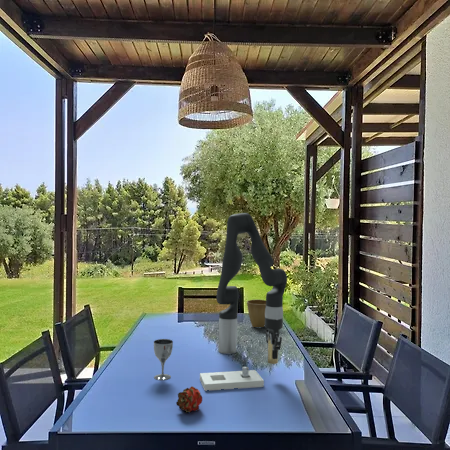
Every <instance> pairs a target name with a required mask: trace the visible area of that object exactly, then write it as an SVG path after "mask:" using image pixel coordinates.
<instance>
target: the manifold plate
mask: <svg viewBox="0 0 450 450" xmlns="http://www.w3.org/2000/svg"><path fill="white" fill-rule="evenodd" d="M199 381H200V383H201V386H202V388H203V389H204V391H205V392H206V391H207V390H209V391H222V390H221V389H224V390H235V389H234V388H238V389H249V388H262V387H264V386H265V380H264V379H263V378H262V377H261V375H260V374H259V373H258V371H256V370H255V369H249V377H248V378H242V370H235V371H234V370H233V371H217V372H200V373H199ZM264 388H265V387H264ZM207 392H208V391H207Z"/></svg>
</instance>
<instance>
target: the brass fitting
mask: <svg viewBox="0 0 450 450" xmlns="http://www.w3.org/2000/svg"><path fill="white" fill-rule="evenodd" d="M273 342H275V341H273ZM276 347H277V346H276ZM267 363H268V364H271V365H275V364H276V365H277V364H278V363H279V357H278V358H277V359H273V358H272V344H271V340H268V343H267Z"/></svg>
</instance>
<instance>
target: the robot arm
mask: <svg viewBox="0 0 450 450" xmlns="http://www.w3.org/2000/svg"><path fill="white" fill-rule="evenodd" d="M256 225H257V224H256V222H255V221H254V219H253V217H252V216H251V214H249V212H241V213H236V214H231V215H229V217H228V219H227V223H226V235H225V236H226V237H225V238H226V239H225V248H224V251H223V252H224V253H223V258H222V264H221V265H222V266H221V272H220V277H219V281H218V282H219V283H218V287H217V291H216V301H217V304H218V305H223V306H224V305H226V306H227V305H229V306H228V307H227V308H225V309H222V310H220V311H219V314H218V353H220V354H225V355H231V354H235V353H236V352H237V345H238V344H237V343H238V340H237V339H238V311H239V310H238V309H239V299H240V298H239V297H240V296H239V294H240V293H239V289H238V287H237V286H236V285H235V286H234V285H228V284H229V283H230V282H231V280H233V279H234V278H235V277H236V275H237V274H238V273H239V272H240V271H241V268H242V263H243V257H244V256H243V253H242V251H241V249H240V247H239V246H238V242H237V240H238V236H239V235H241V234H247V235H248V236H249V237H250V240H251V241H250V242H251V243H250V253H251V256H252V258H253V260H254V261H255V263H256V265H257V266H258V269H259V270H258V271H259V272H260V276H261V280H262V281H263V283H264V285H266V286H268V287H272V288H271V290H269V291H267V293H266V295H265V300H266V308H265V325H264V328H265V340H266V341H265V342H266V344H268V340H271V344H272V358H273V359H277V358H278V359H279V351H280V350H281V347H282V341H283V337H282V336H280V330H281V329H283V327H284V308H283V306H284V305H283V304H284V303H283V302H284V294H285V290H286V287H287V282H288V277H287V276H288V274H287V273H286V271H285V270H284V269H282V268H272V266H273V265H274V259H273V256H272V255H271V253H270V252H269V251H268V249H267V247H266V246H265V244H264V242H263V240H262V237H261V235H260V232H259V230H258V227H257V226H256ZM273 341H275V342H273ZM276 346H277V347H276Z"/></svg>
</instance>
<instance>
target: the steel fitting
mask: <svg viewBox="0 0 450 450" xmlns="http://www.w3.org/2000/svg"><path fill="white" fill-rule="evenodd" d="M241 369H242V370H241V371H242V378H248V377H249V370H250V367H249V366H242V368H241Z"/></svg>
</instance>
